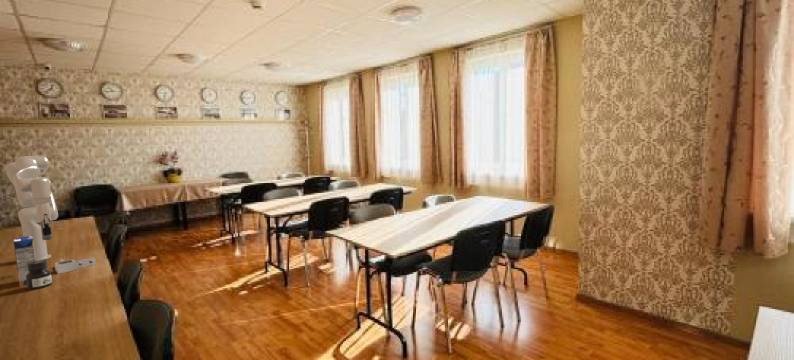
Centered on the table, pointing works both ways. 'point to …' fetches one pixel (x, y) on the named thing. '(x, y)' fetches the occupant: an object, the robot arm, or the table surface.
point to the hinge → (73, 264)
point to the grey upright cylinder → (46, 237)
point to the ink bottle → (38, 275)
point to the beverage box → (24, 256)
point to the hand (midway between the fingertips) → (46, 234)
